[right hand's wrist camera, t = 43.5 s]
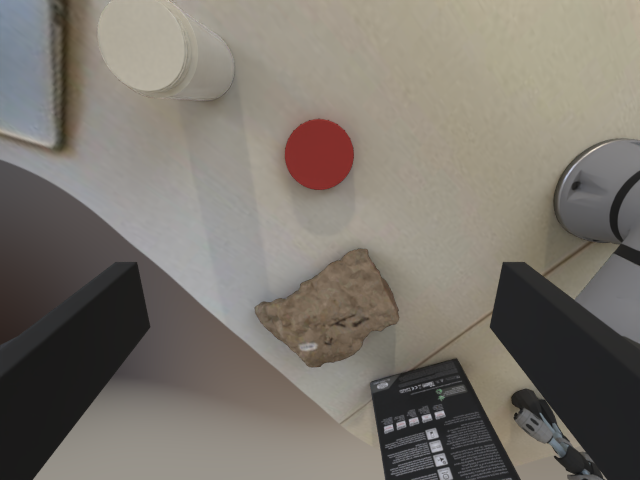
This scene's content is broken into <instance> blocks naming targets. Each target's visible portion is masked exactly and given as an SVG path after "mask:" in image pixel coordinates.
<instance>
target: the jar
mask: <svg viewBox="0 0 640 480" xmlns="http://www.w3.org/2000/svg"><path fill="white" fill-rule="evenodd" d="M97 40H98V46H99V49H100V53H101V55H102V58H103V60H104V62H105V63H106V65H107V67H108V68H109V70H110V71H111V72H112V73H113V74H114V75H115V76H116V77H117V79H118V80H119V81H121V82H122V83H123V84H125V85H126V86H128V87H129V88H130V89H132V90H133V91H135V92H137V93H139V94H141V95H143V96H147V97H151V98H163V99H181V100H199V101H210V100H214V99H217V98H219V97H220V96H222V95H223V94H224V93H225V92H226V91H227V90H228V89H229V87H230V86H231V84H232V81H233V78H234V71H235V67H234V59H233V56H232V53H231V51H230V49H229V47H228V45H227V44H226V43H225V41H224V40H223V39H222V38H221V37H220V36H218V35H217V34H216V33H214V32H213V31H211V30H210V29H209V28H207V27H206V26H204V25H203V24H201V23H200V22H199V21H197V20H196V19H194V18H193V17H191V16H190V15H189V14H187V13H186V12H184V11H183V10H182V9H180V8H179V7H177V6H176V5H174V4H173V3H172V2H170V1H169V0H112V1H111V2H110V3H109V4H108V5H107V6H106V7H105V8H104V10H103V12H102V14H101V16H100V19H99V22H98V28H97Z"/></svg>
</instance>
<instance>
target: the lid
mask: <svg viewBox="0 0 640 480" xmlns="http://www.w3.org/2000/svg"><path fill="white" fill-rule="evenodd" d="M353 158H354V152H353V146H352V143H351V140H350V138H349V136H348V135H347V133H346V132H345V130H343V129H342V128H341V127H340V126H338V124H335V123H333V122H331V121H329V120H324V119H315V120H309V121H307V122H305V123H303V124H300V126H299V127H298V128H297V129H295V130H294V131H293V133H292V134H291V136H290V137H289V138H288V142H287V144H286V148H285V161H286V165H287V168H288V170H289V172H290V174H291V175H292V177H293V178H294V179H295V180H296V181H297V182H298V183H300V184H301V185H303V186H305V187H307V188H310V189H315V190H323V189H329V188H331V187H334V186H336V185H337V184H339V183H340V182H341V181H343V180H344V178H345V177H346V176H347V175H348V173H349V171H350V169H351V167H352V164H353Z"/></svg>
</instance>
